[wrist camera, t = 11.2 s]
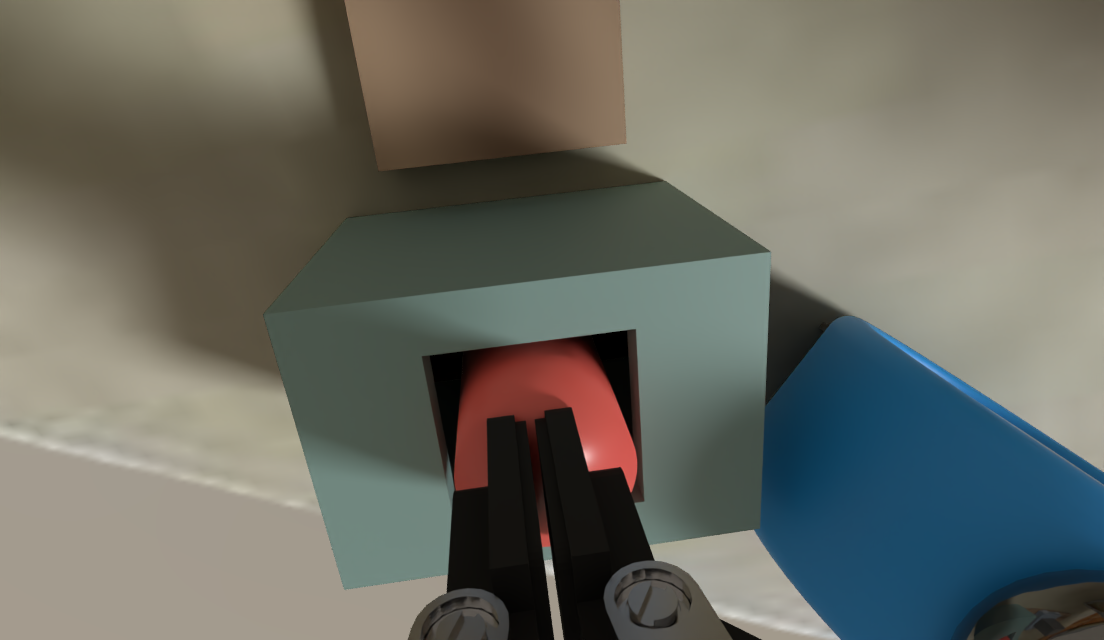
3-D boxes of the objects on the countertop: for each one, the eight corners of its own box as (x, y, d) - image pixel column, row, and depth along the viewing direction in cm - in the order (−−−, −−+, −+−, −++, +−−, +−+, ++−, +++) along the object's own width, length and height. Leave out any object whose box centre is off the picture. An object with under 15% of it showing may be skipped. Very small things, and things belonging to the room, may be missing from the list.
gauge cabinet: (665, 181, 20) (770, 251, 13) (670, 376, 23) (760, 528, 15) (328, 220, 19) (233, 317, 12) (375, 416, 22) (320, 593, 15)
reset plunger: (591, 291, 16) (632, 381, 12) (600, 410, 18) (641, 533, 13) (452, 308, 16) (439, 407, 12) (472, 428, 18) (468, 558, 13)
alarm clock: (1022, 417, 25) (1684, 857, 11) (917, 530, 27) (1377, 1031, 13) (772, 260, 21) (1291, 625, 8) (668, 402, 23) (940, 907, 9)
